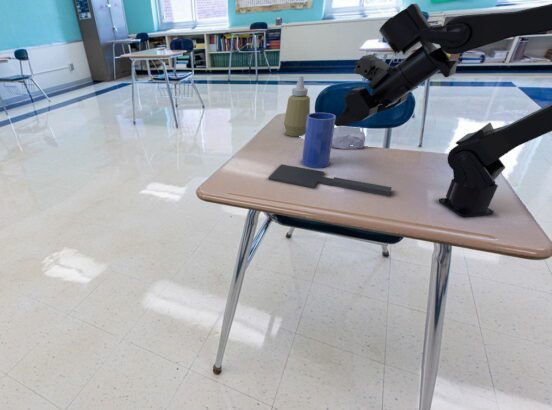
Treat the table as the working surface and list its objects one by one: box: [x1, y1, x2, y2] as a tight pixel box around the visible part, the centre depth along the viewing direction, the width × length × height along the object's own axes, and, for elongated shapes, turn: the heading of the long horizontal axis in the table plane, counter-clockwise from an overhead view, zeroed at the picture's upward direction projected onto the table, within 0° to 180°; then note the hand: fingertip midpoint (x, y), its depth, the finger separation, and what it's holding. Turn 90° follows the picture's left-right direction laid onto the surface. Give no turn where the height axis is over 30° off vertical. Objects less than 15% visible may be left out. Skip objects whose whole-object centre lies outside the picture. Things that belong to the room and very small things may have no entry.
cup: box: [301, 112, 337, 169], centre depth 84 cm, size 7×7×12 cm
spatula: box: [268, 164, 393, 197], centre depth 77 cm, size 26×9×1 cm, turn 59°
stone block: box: [331, 125, 366, 150], centre depth 99 cm, size 12×5×10 cm
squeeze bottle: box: [283, 75, 311, 137], centre depth 104 cm, size 8×8×18 cm
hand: (346, 120), depth 76 cm, fingers open, 9 cm apart
